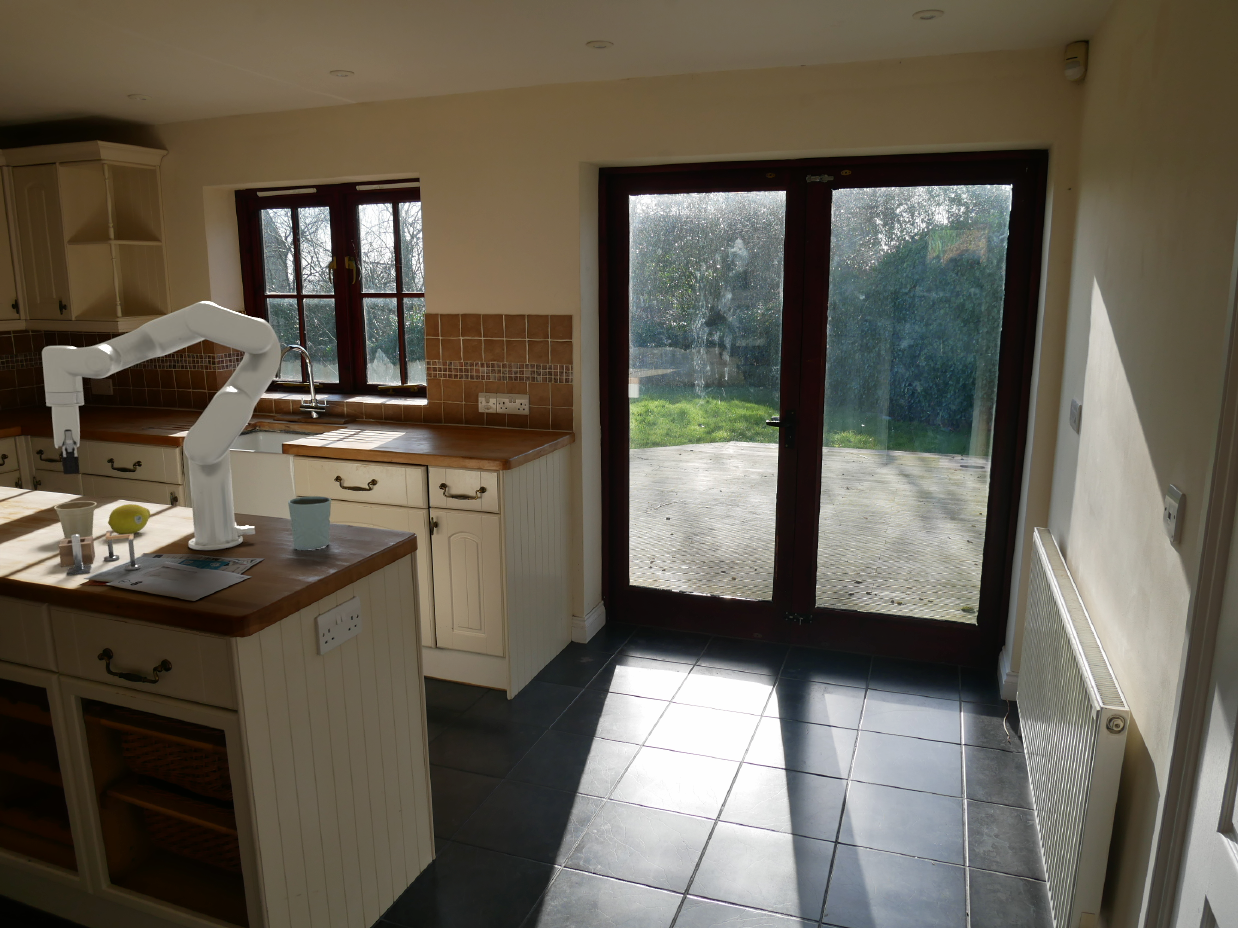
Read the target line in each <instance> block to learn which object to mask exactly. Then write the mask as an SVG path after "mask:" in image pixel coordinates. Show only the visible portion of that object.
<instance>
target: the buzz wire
mask: <svg viewBox="0 0 1238 928" xmlns="http://www.w3.org/2000/svg"><path fill="white" fill-rule="evenodd" d="M104 539H105V541H106V542H107V549H108V550H107V551H108V555H106V556H104V557H103V561H104V562H114V561H118V560H120V555H118V554H115V553H114V546H113V545H114V544H113V540H118V539H119V540H120V539H127V541H128V552H129V562H130V564H128V565H125V570H126V571H136V569H137V570H140V569H141V568H142V564H141V563H136V556H135V555H136V554H135V546H134V534H125V535H120V534H116V535H112V530H106V533H105V538H104ZM139 568H140V569H139Z"/></svg>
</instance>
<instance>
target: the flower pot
mask: <svg viewBox="0 0 1238 928" xmlns="http://www.w3.org/2000/svg"><path fill="white" fill-rule="evenodd" d="M97 504H98V503H97V502H96V501H88V500H86V501H85V500H80V501H77V500H76V501H69V502H65V503H59V504H57V505H55V506H53V507H54V508H53V509H55V511H56V514H57V515H58V518H59V522H60V525H61V529H62V531H63V533H62V534H63V536H64V539H71V535H75V534H79V535H80V538H81V537H91V536H93V529H94V516H95V511H96V506H97Z"/></svg>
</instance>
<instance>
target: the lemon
mask: <svg viewBox="0 0 1238 928" xmlns="http://www.w3.org/2000/svg"><path fill="white" fill-rule="evenodd" d="M150 517H151V511H150V509H149V508H146V507H144V506H141V505H139V504H136V503H135V504H133V503H131V504H130V503H128V504H123V505H119V506H118V507H116V508H114V509H113V510H112V511H111V513H110V515H109V518H108V521H107V523H108V526H109V527H110V529H111V531H113V532H114V533H115V534H116V535H125V534H133V535H134V534H137V533H138V532H140V531H141V530H142V529H144V528H145V527H146V526H147V523H148V521H149V519H150Z"/></svg>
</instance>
